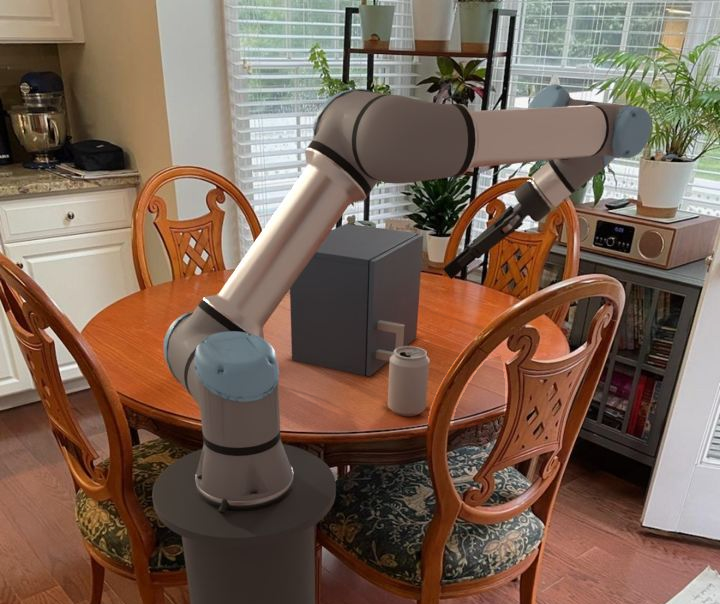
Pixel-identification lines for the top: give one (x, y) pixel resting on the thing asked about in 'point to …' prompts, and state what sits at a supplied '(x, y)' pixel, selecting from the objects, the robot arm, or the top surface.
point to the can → (408, 380)
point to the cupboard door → (393, 301)
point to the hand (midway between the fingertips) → (447, 273)
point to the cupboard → (338, 298)
